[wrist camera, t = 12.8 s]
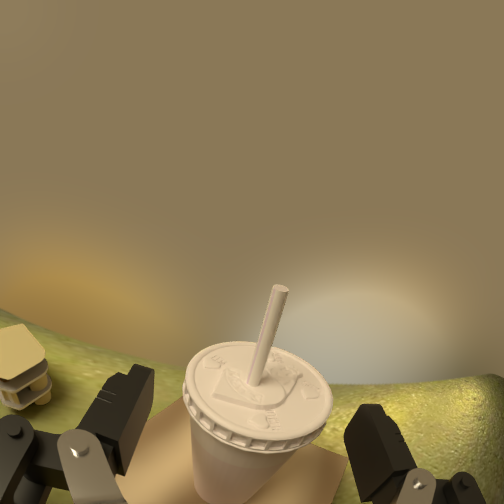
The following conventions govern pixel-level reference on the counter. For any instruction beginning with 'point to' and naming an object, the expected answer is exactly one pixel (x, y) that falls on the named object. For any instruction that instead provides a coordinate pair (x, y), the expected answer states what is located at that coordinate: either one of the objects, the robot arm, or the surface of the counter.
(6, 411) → the counter surface
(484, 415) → the counter surface
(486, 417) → the counter surface
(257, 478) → the smoothie
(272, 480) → the riser
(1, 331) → the stacked layers on plate
